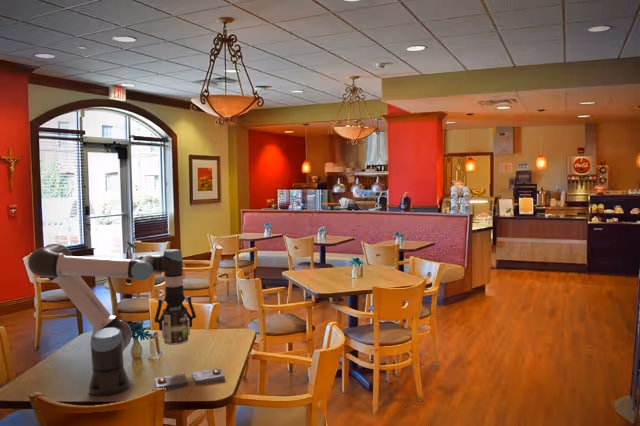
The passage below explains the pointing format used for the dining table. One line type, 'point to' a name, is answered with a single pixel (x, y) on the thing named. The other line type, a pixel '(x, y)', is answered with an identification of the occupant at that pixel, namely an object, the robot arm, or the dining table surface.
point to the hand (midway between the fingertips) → (176, 335)
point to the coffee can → (175, 326)
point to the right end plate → (208, 376)
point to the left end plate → (171, 382)
